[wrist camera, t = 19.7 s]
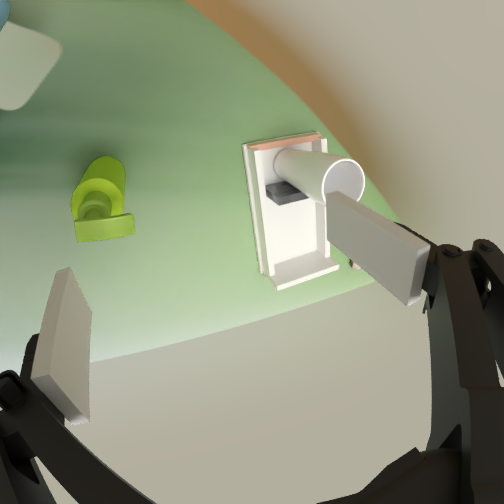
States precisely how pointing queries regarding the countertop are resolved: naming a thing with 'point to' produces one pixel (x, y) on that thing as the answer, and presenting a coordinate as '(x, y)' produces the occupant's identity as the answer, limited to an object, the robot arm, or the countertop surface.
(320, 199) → the white tumbler cup
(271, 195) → the pusher plate
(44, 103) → the countertop surface
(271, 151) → the pusher lane
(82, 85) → the countertop surface
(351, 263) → the clam shell
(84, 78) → the countertop surface
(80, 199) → the soap dispenser
